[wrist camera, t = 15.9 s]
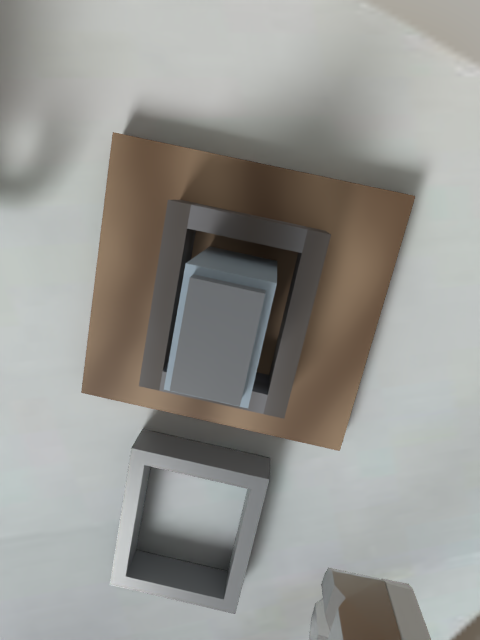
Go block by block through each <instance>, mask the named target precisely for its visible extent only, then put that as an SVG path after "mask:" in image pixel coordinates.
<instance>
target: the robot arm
mask: <svg viewBox="0 0 480 640" xmlns="http://www.w3.org/2000/svg"><path fill="white" fill-rule="evenodd" d="M321 586H322V595H323V598H322V599H321V600H320V601H318V602H317V603H315V607H314V611H313V614H312V618H311V625H310V633H309V640H431V638H430V635H429V632H428V629H427V627H426V624H425V621H424V618H423V616H422V613H421V610H420V607H419V605H418V602H417V599H416V596H415V594H414V591H413V589H412V587H411V586H410V585H409V584H406V583H402V582H397V581H392V580H387V579H379V578H374V577H370V576H365V575H360V574H356V573H351V572H346V571H342V570H337V569H332V568H328V569H327V571H326V572H325V574H324V578H323V581H322V584H321Z"/></svg>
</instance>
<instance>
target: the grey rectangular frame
mask: <svg viewBox="0 0 480 640" xmlns="http://www.w3.org/2000/svg"><path fill="white" fill-rule="evenodd" d="M150 467H155V468H159V469H164V470H168V471H173V472H177V473H181V474H186V475H190V476H194V477H199V478H203V479H208V480H212V481H216V482H221V483H225V484H229V485H234V486H238V487H243V488H247V494H246V498H245V502H244V506H243V510H242V514H241V518H240V523H239V527H238V531H237V535H236V539H235V543H234V547H233V551H232V556H231V560H230V564H229V568H228V571H224V570H220V569H216V568H211V567H207V566H203V565H198V564H194V563H190V562H186V561H181V560H177V559H173V558H168V557H164V556H160V555H155V554H151V553H147V552H143V551H138V550H136V548H137V542H138V537H139V531H140V525H141V519H142V514H143V508H144V502H145V496H146V491H147V485H148V479H149V473H150ZM269 480H270V458H268V457H263V456H259V455H254V454H250V453H246V452H241V451H237V450H232V449H228V448H224V447H219V446H215V445H210V444H206V443H201V442H197V441H193V440H188V439H184V438H179V437H175V436H171V435H166V434H162V433H157V432H153V431H148V430H144V429H142V431H141V433H140V434H139V436H138V438H137V439H136V441H135V443H134V444H133V446H132V448H131V454H130V460H129V466H128V473H127V479H126V485H125V491H124V498H123V504H122V510H121V517H120V523H119V529H118V536H117V542H116V548H115V555H114V561H113V567H112V573H111V580H110V585H114V586H118V587H122V588H126V589H131V590H135V591H139V592H143V593H148V594H152V595H156V596H160V597H165V598H169V599H173V600H177V601H182V602H186V603H190V604H194V605H199V606H203V607H207V608H211V609H216V610H220V611H224V612H228V613H233V614H235V613H236V609H237V605H238V601H239V597H240V593H241V589H242V585H243V581H244V577H245V574H246V570H247V566H248V562H249V558H250V554H251V550H252V546H253V542H254V538H255V534H256V530H257V527H258V523H259V519H260V515H261V511H262V507H263V503H264V499H265V495H266V491H267V487H268V484H269Z"/></svg>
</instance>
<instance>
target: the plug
mask: <svg viewBox="0 0 480 640" xmlns="http://www.w3.org/2000/svg"><path fill="white" fill-rule="evenodd" d="M276 285H277V261H275V260H270V259H266V258H261V257H256V256H252V255H247V254H243V253H238V252H233V251H229V250H224V249H219V248H215V247H208V248H207V249H205V250H204V251H202V252H201V253H200V254H198V255H197V256H195V257H194V258H192V259H191V260H190V261H188V262H187V263H186V264H185V270H184V276H183V282H182V287H181V293H180V299H179V305H178V310H177V316H176V322H175V328H174V333H173V339H172V345H171V351H170V356H169V362H168V368H167V374H166V379H165V385H164V390H168V391H172V392H177V393H181V394H186V395H190V396H194V397H199V398H203V399H208V400H212V401H217V402H221V403H226V404H230V405H235V406H239V407H243V408H248V407H249V402H250V398H251V394H252V389H253V385H254V381H255V376H256V372H257V368H258V363H259V359H260V355H261V350H262V346H263V341H264V337H265V333H266V328H267V324H268V320H269V315H270V311H271V307H272V302H273V298H274V294H275V289H276Z"/></svg>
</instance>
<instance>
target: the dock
mask: <svg viewBox="0 0 480 640" xmlns="http://www.w3.org/2000/svg"><path fill="white" fill-rule="evenodd" d="M414 199H415V196H413V195H408V194H403V193H399V192H394V191H389V190H384V189H380V188H375V187H370V186H365V185H361V184H356V183H351V182H346V181H342V180H337V179H332V178H328V177H323V176H318V175H313V174H309V173H304V172H299V171H294V170H290V169H285V168H280V167H275V166H271V165H266V164H261V163H256V162H252V161H247V160H242V159H237V158H233V157H228V156H223V155H218V154H214V153H209V152H204V151H200V150H195V149H190V148H185V147H181V146H176V145H171V144H166V143H162V142H157V141H152V140H147V139H143V138H138V137H133V136H128V135H124V134H119V133H114V132H113V135H112V144H111V152H110V160H109V168H108V177H107V185H106V193H105V201H104V210H103V218H102V226H101V234H100V243H99V251H98V259H97V267H96V276H95V284H94V292H93V300H92V309H91V317H90V325H89V334H88V342H87V350H86V358H85V367H84V375H83V383H82V391H81V393H85V394H89V395H94V396H98V397H103V398H107V399H112V400H116V401H121V402H125V403H129V404H134V405H138V406H143V407H147V408H152V409H156V410H161V411H165V412H169V413H174V414H178V415H183V416H187V417H192V418H196V419H200V420H205V421H209V422H214V423H218V424H223V425H227V426H232V427H236V428H240V429H245V430H249V431H254V432H258V433H263V434H267V435H272V436H276V437H280V438H285V439H289V440H294V441H298V442H303V443H307V444H311V445H316V446H320V447H325V448H329V449H334V450H338V451H340V448H341V445H342V442H343V438H344V435H345V432H346V428H347V425H348V421H349V418H350V415H351V411H352V408H353V405H354V401H355V398H356V395H357V391H358V388H359V384H360V381H361V378H362V374H363V371H364V368H365V364H366V361H367V357H368V354H369V351H370V347H371V344H372V341H373V337H374V334H375V331H376V327H377V324H378V320H379V317H380V314H381V310H382V307H383V304H384V300H385V297H386V294H387V290H388V287H389V283H390V280H391V277H392V273H393V270H394V267H395V263H396V260H397V257H398V253H399V250H400V246H401V243H402V240H403V236H404V233H405V230H406V226H407V223H408V220H409V216H410V213H411V209H412V206H413V203H414ZM208 247H215V248H219V249H224V250H229V251H233V252H238V253H243V254H247V255H252V256H256V257H261V258H266V259H270V260H275V261H277V285H276V289H275V294H274V298H273V302H272V307H271V311H270V315H269V320H268V324H267V328H266V333H265V337H264V341H263V346H262V350H261V355H260V359H259V363H258V368H257V372H256V376H255V381H254V385H253V389H252V394H251V398H250V402H249V407H248V408H243V407H239V406H235V405H230V404H226V403H221V402H217V401H212V400H208V399H203V398H199V397H194V396H190V395H186V394H181V393H177V392H172V391H168V390H164V385H165V379H166V374H167V368H168V362H169V356H170V351H171V345H172V339H173V333H174V328H175V322H176V316H177V310H178V305H179V299H180V293H181V287H182V282H183V276H184V270H185V264H186V263H187V262H188V261H190V260H191V259H192V258H194V257H195V256H197V255H198V254H200V253H201V252H202V251H204V250H205V249H207V248H208Z"/></svg>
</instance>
